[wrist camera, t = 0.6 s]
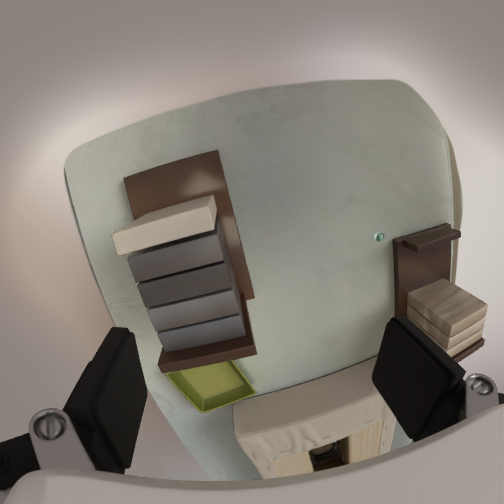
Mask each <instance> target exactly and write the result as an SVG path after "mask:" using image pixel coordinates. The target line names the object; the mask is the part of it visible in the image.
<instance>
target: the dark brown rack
mask: <svg viewBox="0 0 504 504" xmlns="http://www.w3.org/2000/svg"><path fill="white" fill-rule="evenodd" d="M460 237H461V231H458V230H455V229H452V228H451V224H448V223H445V224H442V225H439V226H435V227H432V228H429V229H426V230H422V231H419V232H416V233H412V234H409V235H406V236H402V237H399V238H396V239H393V252H394V273H395V317H401V316H406V317H407V318H408V319H410V320H411V321H412V322H413V323H414V324H415V325H416V326H417V327H419V328H420V329H421V330H422V331H423V332H424V333H425V334H426V335H428V336H429V337H430V338H431V339H432V340H433V341H434V342H435V343H436V344H437V345H439V346H440V347H441V348H442V349H443V350H444V351H445V352H446V353H447V354H448V355H449V356H450V357H451V358H453V359H454V360H455V361H456V362H457V363H458V362H459V361H461V360H462V359H464V358H466V357H467V356H469V355H470V354H472V353H473V352H474V351H476V350H478V349H479V348H480V347H482V346H483V345H484V341H485V340H484V339H483V338H482V337H481V336H482V331H483V326H484V322H485V315H486V312H487V307H488V304H486V303H485V302H483V301H482V300H480V299H478V298H477V297H475V296H473V295H472V294H470V293H468V292H467V291H465V290H463V289H461V288H460V287H458V286H456V285H455V284H453V283H451V282H450V268H451V241H452V240H454V239H457V238H460Z"/></svg>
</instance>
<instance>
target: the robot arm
mask: <svg viewBox="0 0 504 504" xmlns="http://www.w3.org/2000/svg"><path fill="white" fill-rule="evenodd" d="M465 373H466V371H465V370H464V369H463V368H462V367H461V366H460V365H459V364H458V363H457V362H456V361H455V360H454V359H453V358H451V357H450V356H449V355H448V354H447V353H446V352H445V351H444V350H443V349H442V348H441V347H440V346H439V345H437V344H436V343H435V342H434V341H433V340H432V339H431V338H430V337H429V336H428V335H426V334H425V333H424V332H423V331H422V330H421V329H420V328H419V327H417V326H416V325H415V324H414V323H413V322H412V321H411V320H410V319H408V318H407V317H406V316H401V317H394V318H391V320H390V322H388V323H387V325H386V328H385V332H384V336H383V339H382V343H381V346H380V350H379V353H378V357H377V360H376V363H375V366H374V369H373V372H372V382H373V384H374V386H375V387H376V389H377V390H378V392H379V393H380V395H381V396H382V398H383V399H384V401H385V402H386V404H387V405H388V407H389V408H390V410H391V411H392V413H393V414H394V416H395V417H396V419H397V420H398V422H399V424H400V425H401V427H402V428H403V430H404V431H405V433H406V434H407V436H408V437H409V438H410V439H413V441H414V442H415V443H412V444H410V445H407V446H405V447H402V448H399V449H397V450H394V451H391V452H388V453H385V454H382V455H379V456H376V457H373V458H369V459H366V460H363V461H359V462H355V463H352V464H348V465H344V466H340V467H335V468H331V469H327V470H322V471H317V472H311V473H306V474H300V475H293V476H286V477H278V478H269V479H259V480H245V481H183V480H182V481H181V480H165V479H156V478H147V477H139V476H132V475H124V472H125V468H128V469H129V468H130V466H131V462H132V458H133V453H134V449H135V444H136V440H137V435H138V431H139V427H140V423H141V419H142V415H143V411H144V407H145V403H146V399H147V387H146V383H145V379H144V375H143V371H142V367H141V363H140V359H139V354H138V350H137V345H136V340H135V335H134V333H133V332H130V331H129V329H128V328H121V327H112V328H111V329H110V331H109V333H108V334H107V336H106V337H105V339H104V341H103V342H102V344H101V346H100V347H99V349H98V351H97V352H96V354H95V356H94V358H93V360H92V361H90V362H89V363H88V365H87V366H86V368H85V370H84V372H83V373H82V375H81V377H80V379H79V381H78V382H77V384H76V386H75V388H74V389H73V391H72V393H71V395H70V397H69V399H68V401H67V403H66V404H65V406H64V408H63V410H59V409H54V408H49V409H43V410H41V411H39V412H37V413H36V414H35V415H34V416H33V417H32V419H31V420H30V423H29V433H27V434H24V435H22V436H18V437H15V438H13V439H10V440H7V441H4V442H1V443H0V504H504V394H501V393H498V392H497V387H496V384H495V383H494V381H493V380H492V379H491V378H489V377H488V376H486V375H483V374H477V373H475V374H471V375H469V376H468V377H467V379H466V380H465V381H464V380H463V377H464V375H465Z"/></svg>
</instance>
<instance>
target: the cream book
mask: <svg viewBox="0 0 504 504" xmlns="http://www.w3.org/2000/svg"><path fill="white" fill-rule="evenodd" d="M216 212H217V208H216V204H215V200H214V196H213V195H209V196H206V197H202V198H198V199H195V200H191V201H187V202H184V203H180V204H177V205H173V206H170V207H166V208H163V209H160V210H156V211H153V212H150V213H147V214H145V215H143V216H141V217H140V218H138V219H136V220H134V221H133V222H131V223H129V224H128V225H126V226H124V227H122V228H121V229H119V230H117V231H116V232H114V233H112V234H111V236H112V239H113V243H114V246H115V249H116V252H117V255H118V256H120V255H124V254H127V253H131V252H134V251H138V250H141V249H145V248H148V247H152V246H155V245H159V244H162V243H166V242H170V241H173V240H177V239H181V238H184V237H188V236H192V235H196V234H199V233H203V232H207V231H211V230H214V226H215V219H216Z"/></svg>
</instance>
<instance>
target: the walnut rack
mask: <svg viewBox="0 0 504 504" xmlns="http://www.w3.org/2000/svg"><path fill="white" fill-rule="evenodd" d="M123 179H124V183H125V187H126V191H127V195H128V198H129V202H130V206H131V209H132V213H133V216H134V220H136V219H138V218H140V217H141V216H143V215H145V214H147V213H150V212H153V211H156V210H160V209H163V208H166V207H170V206H173V205H177V204H180V203H184V202H187V201H191V200H195V199H198V198H202V197H206V196H209V195H213V196H214V200H215V204H216V208H217V212H216V219H215V226H214V230H211V231H207V232H203V233H199V234H196V235H192V236H188V237H184V238H181V239H177V240H173V241H170V242H166V243H162V244H159V245H155V246H152V247H148V248H145V249H141V250H138V251H134V252H133V253H132V254H131V255H130V256H129V257H128V258H127V259H128V262H129V265H130V268H131V270H132V273H133V276H134V279H135V281H136V282H139V284H138V285H137V286H138V289H139V291H140V294H141V297H142V299H143V302H144V304H145V307H146V308H148V307H149V308H148V310H147V312H148V314H149V317H150V319H151V321H152V324H153V326H154V328H155V331H158V333H157V335H158V337H159V339H160V341H161V344H162V346H163V347H162V351H161V354H160V358H159V361H158V366H159V368H160V370H161V372H162V373H168V372H174V371H180V370H186V369H191V368H197V367H202V366H207V365H212V364H217V363H222V362H226V361H231V360H236V359H240V358H244V357H248V356H253V355H256V354H257V351H256V346H255V342H254V337H253V332H252V327H251V322H250V317H249V312H248V307H247V302H246V300H249V299H253V298H255V296H254V292H253V288H252V284H251V280H250V276H249V272H248V268H247V264H246V260H245V256H244V253H243V249H242V245H241V241H240V237H239V233H238V229H237V225H236V221H235V217H234V213H233V209H232V205H231V201H230V197H229V192H228V188H227V184H226V180H225V176H224V172H223V168H222V164H221V160H220V156H219V152H218V150H215V151H211V152H207V153H203V154H199V155H196V156H192V157H188V158H185V159H181V160H178V161H174V162H171V163H168V164H165V165H161V166H158V167H155V168H152V169H149V170H146V171H143V172H140V173H137V174H134V175H131V176H128V177H125V178H123Z"/></svg>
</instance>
